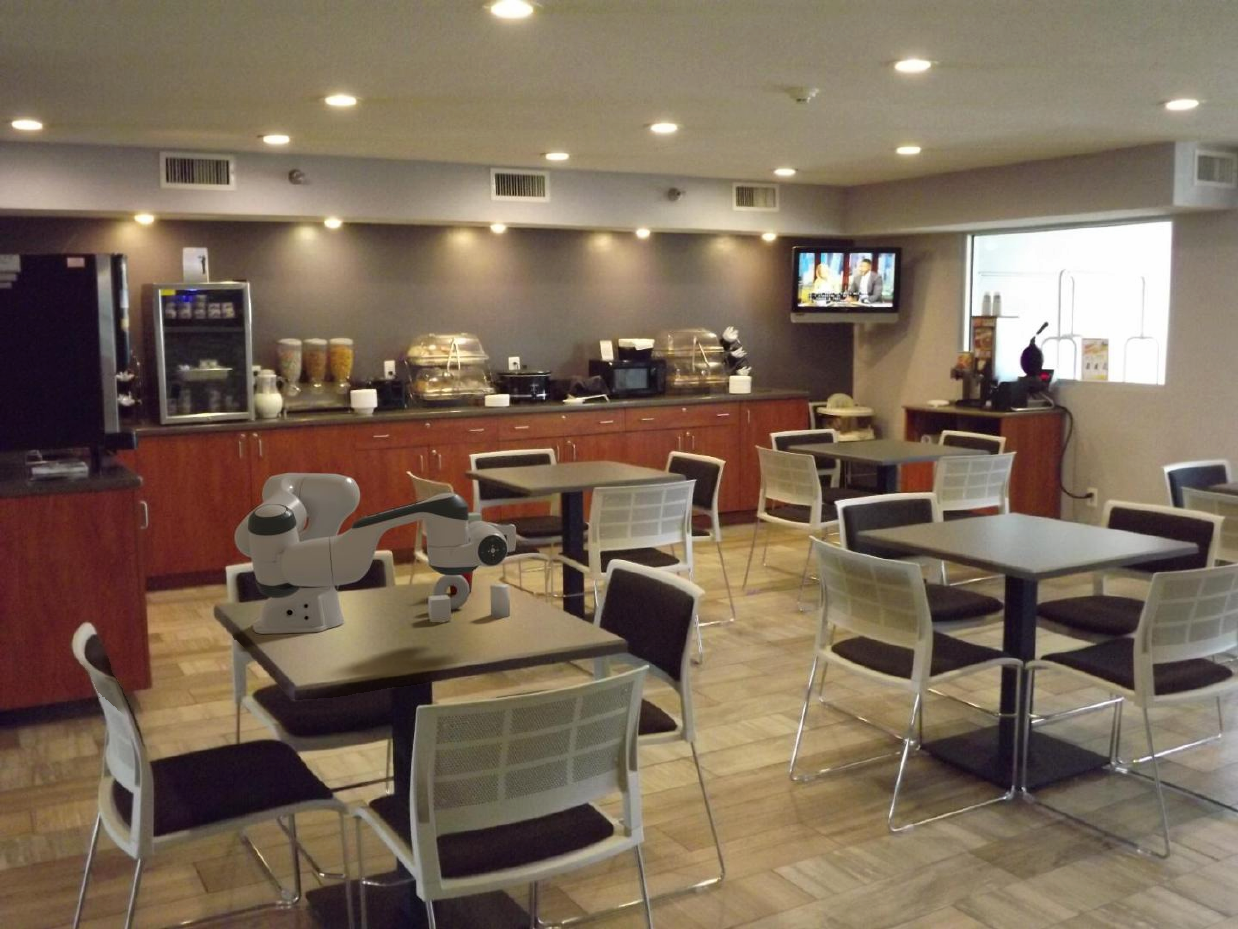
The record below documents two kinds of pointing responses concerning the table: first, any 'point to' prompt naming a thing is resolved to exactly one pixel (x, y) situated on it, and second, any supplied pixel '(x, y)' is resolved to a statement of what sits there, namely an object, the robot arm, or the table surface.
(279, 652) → the table surface
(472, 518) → the sage block
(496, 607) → the white canister
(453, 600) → the donut
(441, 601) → the grey cube
